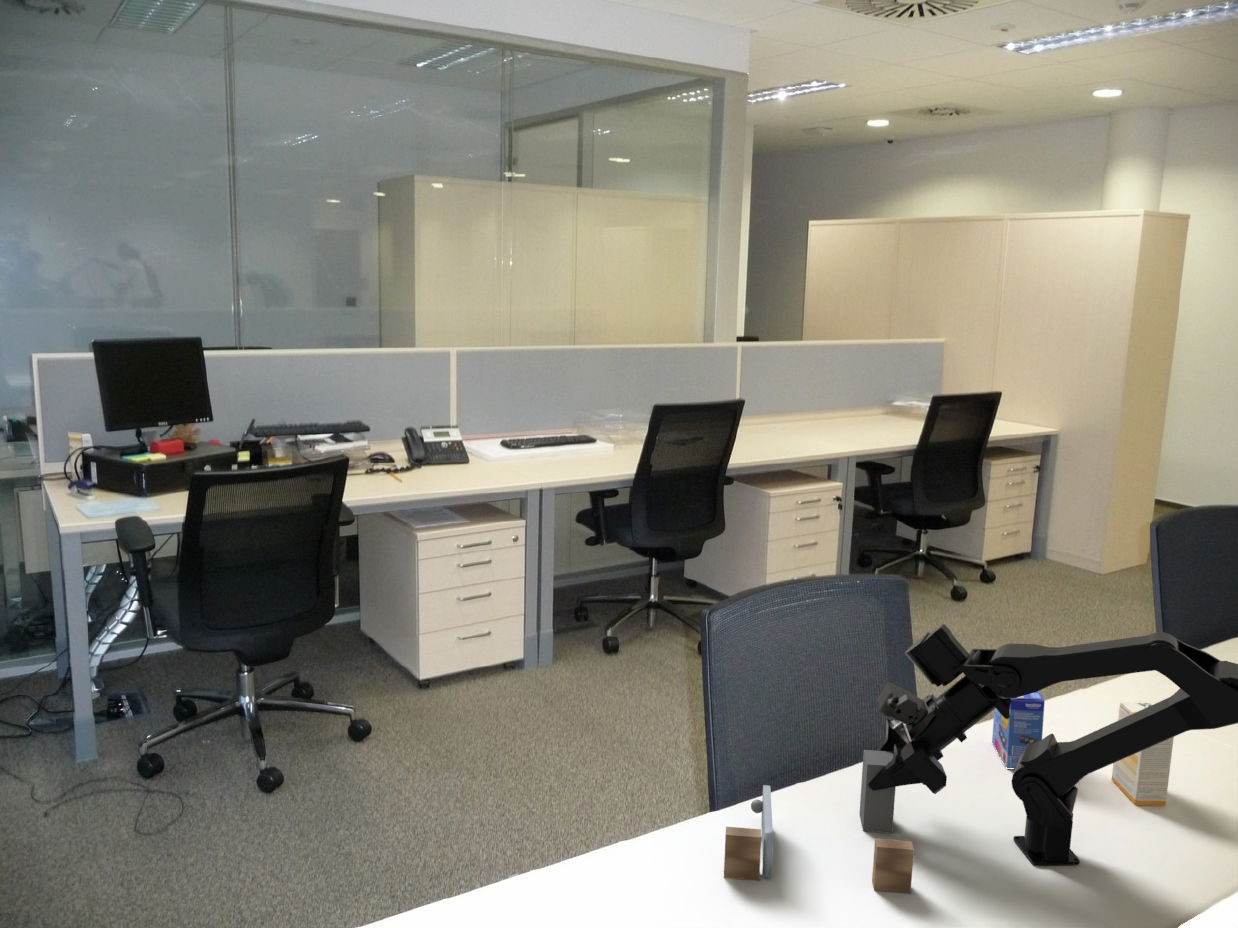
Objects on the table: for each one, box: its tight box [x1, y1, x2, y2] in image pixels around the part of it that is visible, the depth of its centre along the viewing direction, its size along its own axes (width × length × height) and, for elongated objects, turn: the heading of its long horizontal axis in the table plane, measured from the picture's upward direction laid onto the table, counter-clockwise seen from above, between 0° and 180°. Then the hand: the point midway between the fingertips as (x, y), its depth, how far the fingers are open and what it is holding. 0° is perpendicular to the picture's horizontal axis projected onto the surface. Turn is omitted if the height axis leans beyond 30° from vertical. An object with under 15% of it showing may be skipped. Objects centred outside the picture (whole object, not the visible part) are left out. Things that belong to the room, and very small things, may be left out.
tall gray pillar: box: [859, 749, 896, 834], centre depth 146 cm, size 4×4×10 cm
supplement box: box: [1111, 701, 1175, 807], centre depth 157 cm, size 8×5×13 cm, turn 179°
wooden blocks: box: [723, 826, 915, 894], centre depth 132 cm, size 23×2×6 cm, turn 83°
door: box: [750, 784, 775, 878], centre depth 139 cm, size 14×3×6 cm, turn 173°
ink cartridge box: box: [991, 691, 1045, 769], centre depth 167 cm, size 10×6×14 cm, turn 174°
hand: (868, 779), depth 146 cm, fingers closed on tall gray pillar, 4 cm apart
